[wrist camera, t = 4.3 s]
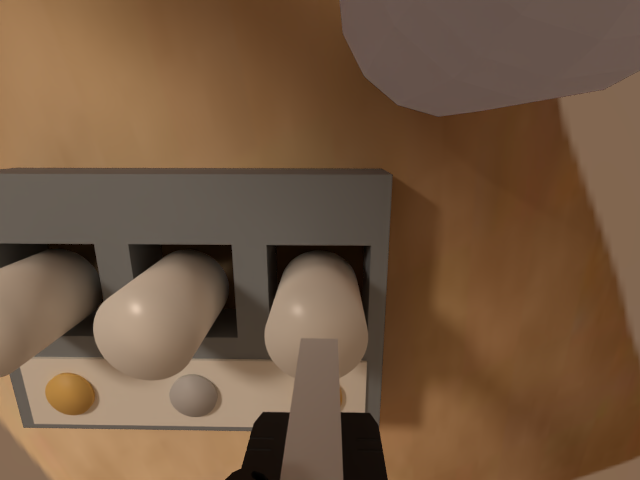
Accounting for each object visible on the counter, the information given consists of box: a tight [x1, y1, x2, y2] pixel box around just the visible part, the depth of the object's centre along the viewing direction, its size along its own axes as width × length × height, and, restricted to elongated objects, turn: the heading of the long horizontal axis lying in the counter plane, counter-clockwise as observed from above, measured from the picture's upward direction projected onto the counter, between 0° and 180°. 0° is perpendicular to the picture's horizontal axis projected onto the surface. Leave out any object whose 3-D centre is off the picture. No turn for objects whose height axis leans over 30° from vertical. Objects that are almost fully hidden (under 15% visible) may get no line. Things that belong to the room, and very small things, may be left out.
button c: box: [264, 250, 368, 378], centre depth 20 cm, size 5×5×6 cm
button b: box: [93, 249, 229, 381], centre depth 20 cm, size 5×5×6 cm
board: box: [0, 168, 393, 431], centre depth 24 cm, size 24×17×4 cm
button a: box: [0, 249, 102, 377], centre depth 20 cm, size 5×5×6 cm
